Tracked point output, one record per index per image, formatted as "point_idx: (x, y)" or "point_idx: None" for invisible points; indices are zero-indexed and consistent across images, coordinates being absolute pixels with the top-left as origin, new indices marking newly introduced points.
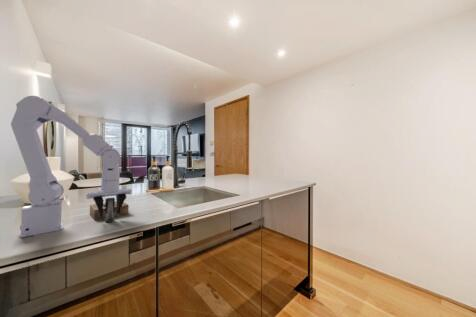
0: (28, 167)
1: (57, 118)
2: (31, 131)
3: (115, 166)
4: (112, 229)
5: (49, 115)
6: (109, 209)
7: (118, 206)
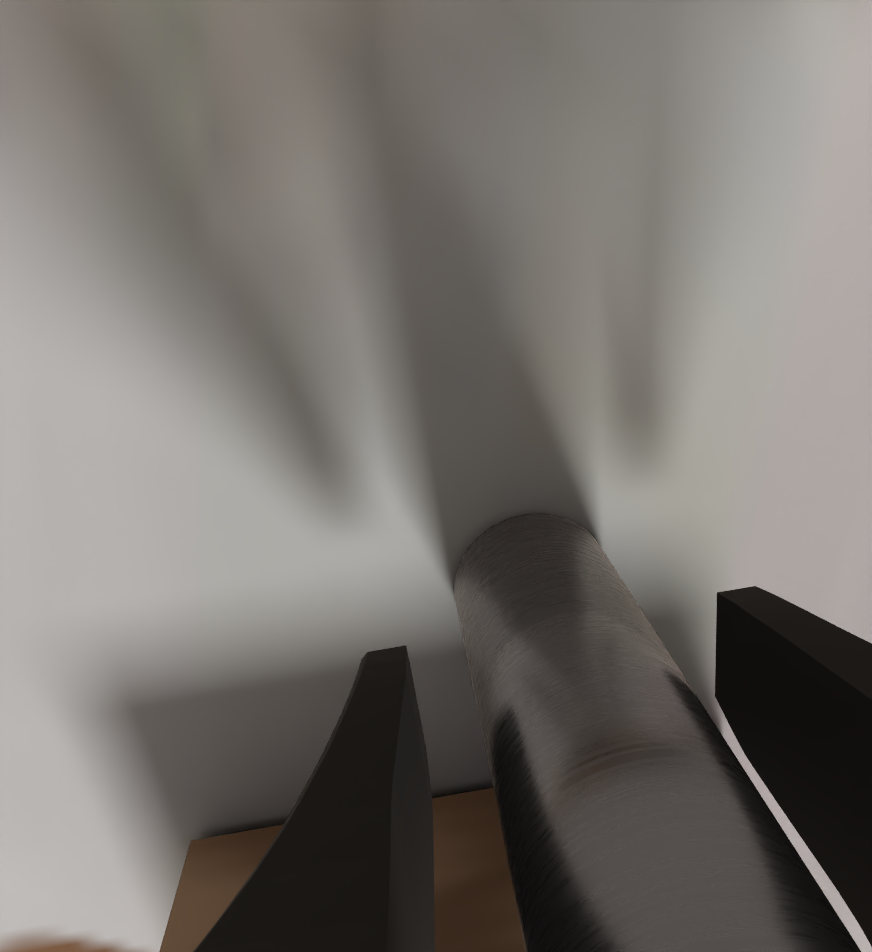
0: None
1: None
2: None
3: None
4: (544, 19)
5: None
6: (647, 695)
7: (398, 790)
